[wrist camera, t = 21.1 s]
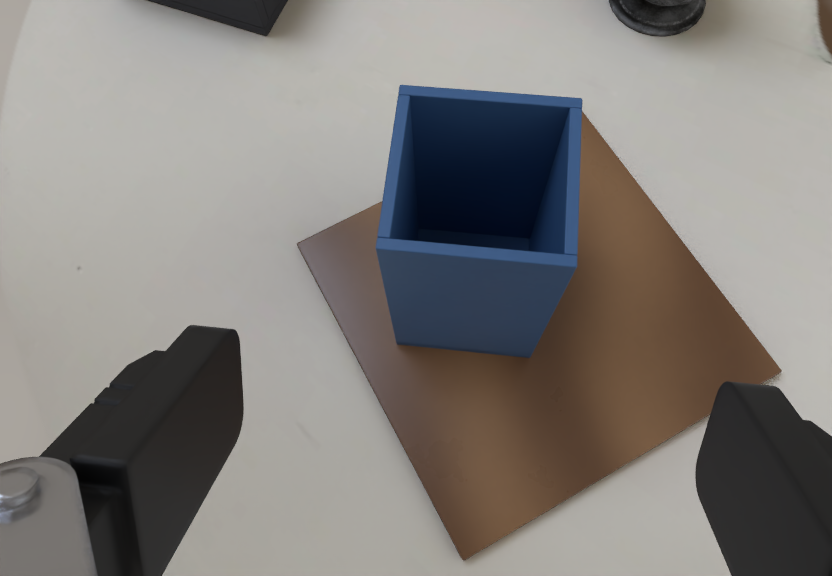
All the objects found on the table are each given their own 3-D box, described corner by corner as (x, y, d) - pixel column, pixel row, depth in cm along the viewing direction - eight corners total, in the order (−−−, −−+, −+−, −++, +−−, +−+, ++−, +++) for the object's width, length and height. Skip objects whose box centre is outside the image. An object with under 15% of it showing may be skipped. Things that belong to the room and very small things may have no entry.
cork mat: (462, 560, 27) (463, 561, 26) (298, 247, 32) (296, 243, 31) (777, 373, 29) (782, 371, 28) (575, 110, 34) (577, 104, 34)
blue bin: (530, 358, 29) (577, 267, 19) (396, 344, 29) (374, 248, 20) (537, 236, 31) (582, 97, 21) (411, 224, 31) (399, 84, 22)
